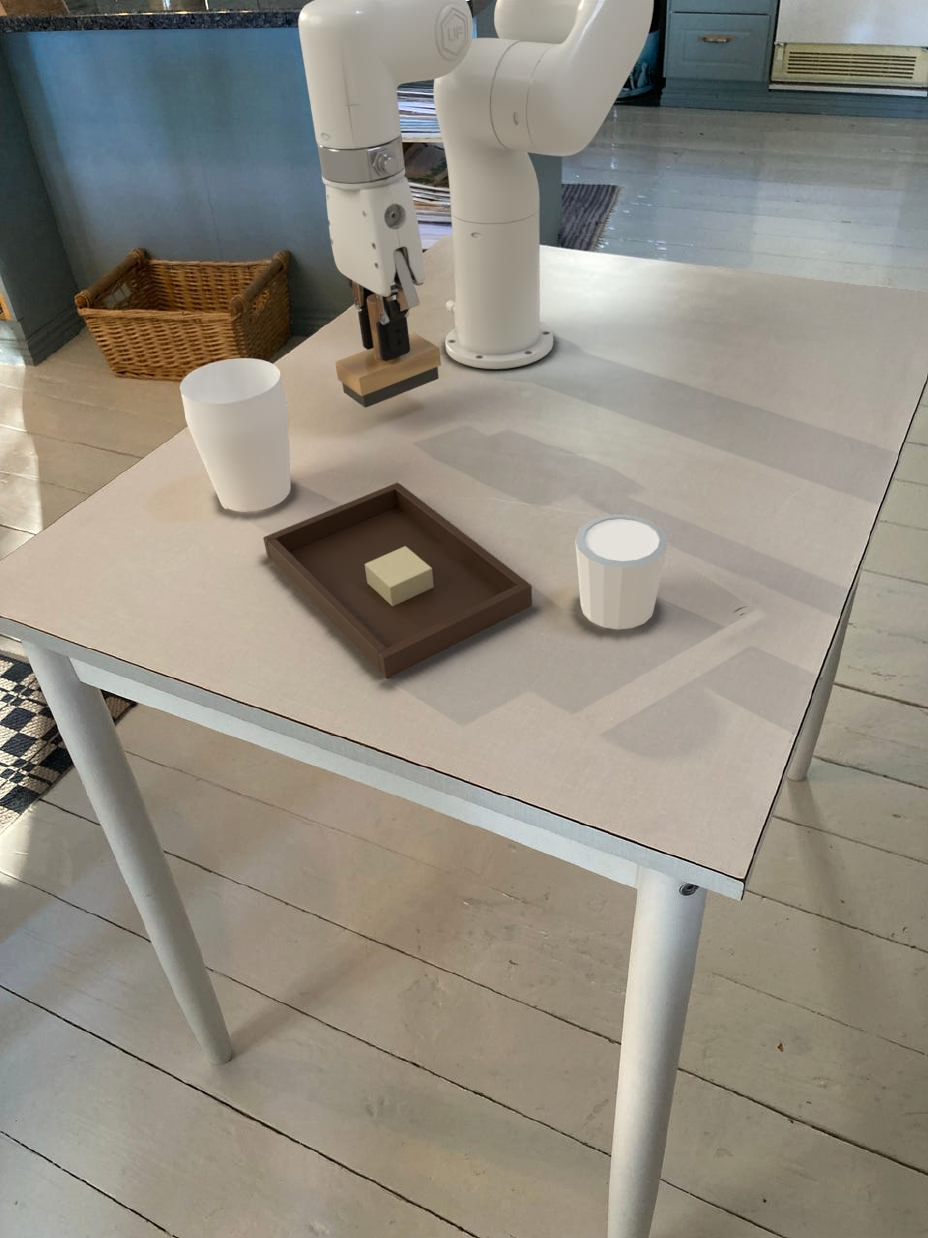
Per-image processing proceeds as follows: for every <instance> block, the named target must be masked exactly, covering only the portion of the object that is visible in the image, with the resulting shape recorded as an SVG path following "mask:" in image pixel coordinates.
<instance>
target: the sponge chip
mask: <svg viewBox="0 0 928 1238" xmlns="http://www.w3.org/2000/svg"><path fill="white" fill-rule="evenodd" d="M365 570H366V577H367V583H368V584H369V585H370V586H371V587H372V588H373V589H374V590H375V591H376V592H378V593H379V594H380V595H381V596H382V597H383V598H384V599H385V600H386V601H387V602H388V603H389V604H390V605H391V606H395V605H397V604H399V603H401V602H404V601H406V600H408V599H410V598H412V597H414V596H416V595H418V594H421V593H423V592H425V591H427V590H429V589H431V588H433V587H434V586H433V575H432V568H431V567H430V566H429V565H427V564H426V563H425V562H424V561H423V560H422V559H420V558H419V557H418V556H417V555H416V554H414V553H413V552H412V551H411V550H410V549H408V548H407V547H406V546H404V547H402V548H400V549H398V550H395V551H393V552H391V553H388V554H386V555H384V556H382V557H379V558H377V559H375V560H373V561H370V562H368V563H366V564H365Z"/></svg>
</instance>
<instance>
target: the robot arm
mask: <svg viewBox="0 0 928 1238" xmlns="http://www.w3.org/2000/svg"><path fill="white" fill-rule="evenodd" d="M654 1H655V0H496V3H495V7H494V12H493V14H494V15H493V22H494V29H495V32H496V34H497V37H476V38H473V34H474V20H473V16H472V15H473V14H472V11H471V9H470V6H469V3H468V2H467V0H312V1H310V2H309V3H306V4H305V5H304V6H303V7H302V9H301V10H300V12H299V15H298V23H297V25H298V34H299V41H300V46H301V47H300V48H301V53H302V60H303V65H304V72H305V78H306V84H307V92H308V97H309V103H310V111H311V117H312V123H313V130H314V135H315V142H316V148H317V154H318V161H319V167H320V168H319V169H320V174H321V179H322V183H323V184H324V185H325V200H326V211H327V223H328V230H329V231H328V232H329V238H330V245H331V250H332V255H333V258H334V263H335V267H336V268H337V270H338V272H340V273H341V274H342V275H343V276H344V277H345V278H346V279H347V281H348V285H349V287H350V288H351V289H352V290H351V291H352V295H353V303H354V306H355V309H356V310H357V314H358V321H359V329H360V335H361V341H362V346H363V348H364V349H365V350H369V349H372V348H373V341H372V334H371V327H370V320H369V313H368V306H367V298H368V296H370V295H372V294H375V297H376V303H377V309H378V315H379V320H380V321H379V322H376V327H377V335H378V342H379V349H380V356H381V359H383V360H384V361H388V360H391V359H394V358H396V357H399V356H402V355H404V354H407V353H409V351H410V343H409V334H410V333H409V326H408V318H407V317H409V315H410V309H412V308H415V307H418V306H419V305H420V299H419V296H418V293H417V290H416V287H415V286H422V285H424V284H425V282H426V267H425V259H424V252H423V251H424V250H423V244H422V238H421V233H420V226H419V221H418V216H417V211H416V210H417V209H416V207H415V202H414V201H415V200H414V198H413V193H412V191H411V187H410V183H409V180H408V178H407V177H406V176H405V174H406V166H405V156H404V147H403V145H404V144H403V137H402V128H401V117H400V108H399V99H398V87H399V86H400V85H402V84H403V85H404V84H409V83H416V82H425V81H431V80H433V92H432V93H433V103H434V104H433V105H434V111H435V114H436V120H437V124H438V128H439V132H440V136H441V140H442V144H443V148H444V155H445V161H446V165H447V166H446V167H447V175H448V185H449V186H448V188H449V202H450V215H451V217H450V218H451V219H450V220H451V234H452V251H453V269H454V284H455V287H454V288H455V298H454V300H453V299H449V300H448V301H447V302H446V304H445V309H446V311H448V313H449V312H450V313H451V314H453V315H454V326H455V327H453V328H452V329H451V330H450V331H449V332H448V333H447V334H446V336H445V341H444V343H445V351H446V353H447V355H448V356H449V357H450V358H451V359H452V360H454V361H456V362H458V363H460V364H462V365H465V366H468V367H472V368H477V369H478V368H479V369H484V370H485V369H486V370H505V369H513V368H518V367H519V368H520V367H522V366H523V367H524V366H527V365H530V364H532V363H535V362H537V361H539V360H541V359H543V358H544V357H546V356H547V355H548V354H549V353H550V352H551V351H552V350H553V346H554V334H553V331H552V330H551V329H550V327H548V326H547V325H546V324H544V323H543V322H541V283H540V281H541V280H540V279H541V278H540V277H541V275H540V273H541V270H540V269H541V267H540V265H541V263H540V262H541V260H540V259H541V258H540V255H541V254H540V252H541V251H540V247H541V245H540V244H541V243H540V241H541V240H540V239H541V238H540V237H541V235H540V234H541V233H540V231H541V230H540V229H541V227H540V197H541V196H540V187H539V181H538V176H537V172H536V170H535V167H534V164H533V162H532V160H531V157H530V155H529V153H530V154H537V155H543V156H553V157H569V156H574V155H575V154H578V153H579V152H582V151H583V150H584V149H585V148H586V147H587V146H589V144H590V143H591V142H592V140H593V139H594V138H595V136H596V135H597V133H598V132H599V131H600V128H601V127H602V125H603V123H604V122H605V120H606V118H607V116H608V115H609V113H610V111H611V109H612V107H613V105H614V104H615V102H616V101H617V98H618V96H619V94H620V93H621V91H622V89H623V87H624V85H625V84H626V82H627V80H628V78H629V77H630V74H631V73H632V71H633V69H634V67H635V65H636V64H637V62H638V59H639V58H640V56H641V53H642V52H643V50H644V47H645V45H646V43H647V40H648V36H649V32H650V29H651V24H652V19H653V13H654V4H655V2H654ZM391 296H393V297H394V296H395V299H393V300H392V301H390V303H389V305H387V299H386V298H388V297H391Z"/></svg>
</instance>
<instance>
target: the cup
mask: <svg viewBox="0 0 928 1238" xmlns="http://www.w3.org/2000/svg"><path fill="white" fill-rule="evenodd" d="M179 390H180V394H181V400H182V405H183V411H184V417H185V422H186V424H187V427H188V430H189V432H190V435H191V437H192V439H193V441H194V444H195V446H196V448H197V451H198V453H199V456H200V458H201V460H202V463H203V465H204V467H205V469H206V472H207V474H208V476H209V479H210V481H211V484H212V486H213V488H214V490H215V493H216V496H217V498H218V500H219V502H220V505H221V506H222V508H223V509H225V510H228V509H229V510H231V511H235V512H241V513H251V512H259V511H263V510H268V509H270V508H272V507H274V506H276V505H278V504H280V503H281V502H283V501H285V499H286V498H287V497H289V494H290V492H291V456H290V455H291V454H290V452H291V451H290V423H289V422H290V421H289V420H290V419H289V404H288V399H287V395H286V392H285V387H284V384H283V380H282V376H281V372H280V369H279V367H277V366H276V365H275V364H274V363H271V362H270V361H266V360H263V359H260V358H259V359H258V358H248V357H240V358H239V357H238V358H237V357H236V358H229V359H222V360H217V361H214V362H210V363H207V364H204V365H202V366H200V367H198V368H195V369H194V370H192V371H191V372H189V373H188V374H187V375H186V376H185V377H183V379H182V381H181V382H180V384H179Z"/></svg>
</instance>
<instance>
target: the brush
mask: <svg viewBox="0 0 928 1238" xmlns="http://www.w3.org/2000/svg"><path fill="white" fill-rule="evenodd" d="M386 299H387V305H389V303H390V301H392V300H394V296H391V297H388V298H386ZM367 306H368V313H369V320H370V327H371V334H372V341H373V348H372V349H369V350H367V349H365V350H363V351H359V352H358V353H355V354H352V355H350V356H347V357H344V358H341V359H338V360H336V361H335V362H334V364H335V369H336V375H337V380H338V381H340V382H341V384H342V391H343V393H344V394H346V395H347V396H348V397H350V398H351V399H352V400H354V401H355V402H356V403H358V404H359V405H361V406H362V407H363V408H365V409H366V408H369V407H371V406H374V405H376V404H377V405H378V404H379V403H381V402H384V401H386V400H389V399H391V398H394V397H397V396H399V395H401V394H404V393H407V392H410V391H412V390H414V389H417V388H419V387H422V386H424V385H426V384H427V385H428V384H430V383H432V382H435V381H436V380H437V381H438V380H439V367H440V366H442V362H441V351H440V346H437V345H436V344H435V343H433V342H431V341H429V340H427V339H426V338H424V337H422V336H421V335H419V334H417V333H416V332H412V333H408V334H409V343H410V351H409V353H407V354H404V355H402V356H399V357H396V358H394V359H391V360H388V361H384V360H383V359H381V356H380V349H379V342H378V335H377V327H376V322H379V321H380V320H379V315H378V309H377V303H376V297H375V294H372V295H370V296H368V298H367Z"/></svg>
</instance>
